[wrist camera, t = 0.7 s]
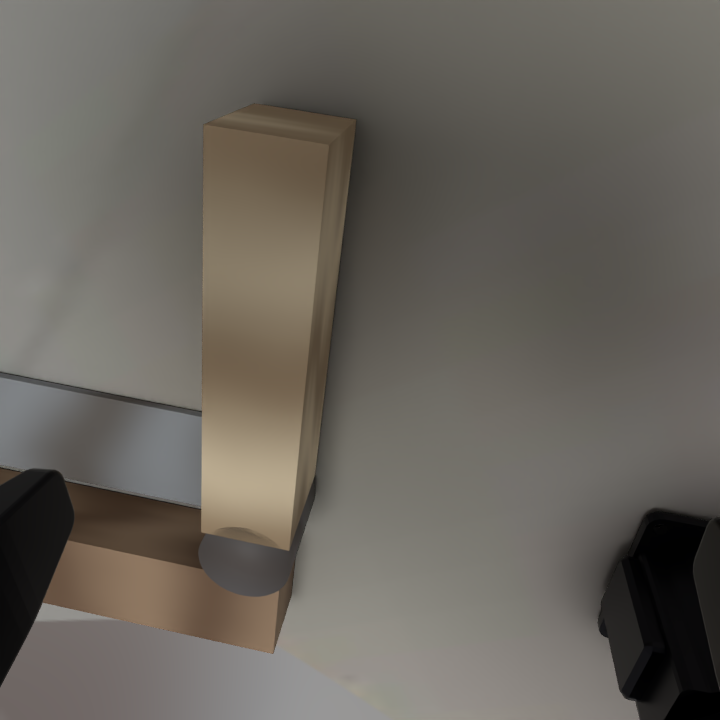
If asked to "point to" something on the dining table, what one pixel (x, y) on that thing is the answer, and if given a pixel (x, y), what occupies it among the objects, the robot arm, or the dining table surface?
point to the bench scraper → (130, 511)
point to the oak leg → (266, 332)
